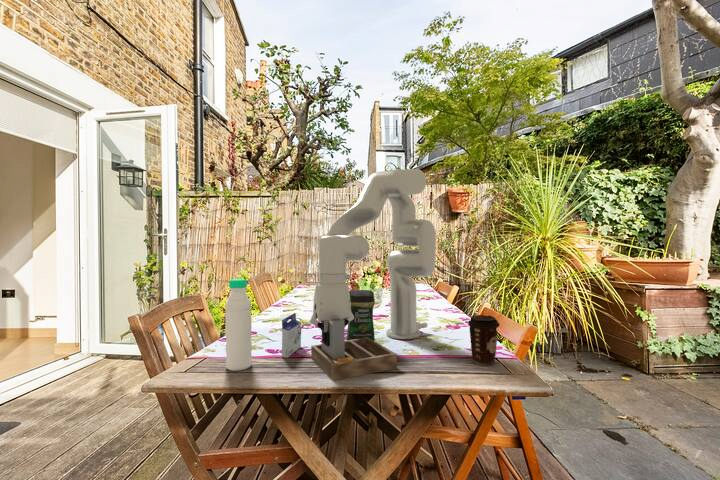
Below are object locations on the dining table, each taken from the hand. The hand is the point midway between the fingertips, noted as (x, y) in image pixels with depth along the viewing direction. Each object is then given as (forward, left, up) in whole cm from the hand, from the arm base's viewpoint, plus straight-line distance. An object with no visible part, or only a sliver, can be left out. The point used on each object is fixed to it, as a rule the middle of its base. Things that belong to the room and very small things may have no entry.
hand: (332, 343), depth 102 cm
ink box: (+7, -18, -7) cm, 21 cm away
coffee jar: (-16, -15, -7) cm, 23 cm away
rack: (-6, 0, -7) cm, 9 cm away
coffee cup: (-41, +16, -7) cm, 45 cm away
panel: (0, 0, -3) cm, 3 cm away
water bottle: (+24, -12, -7) cm, 28 cm away
